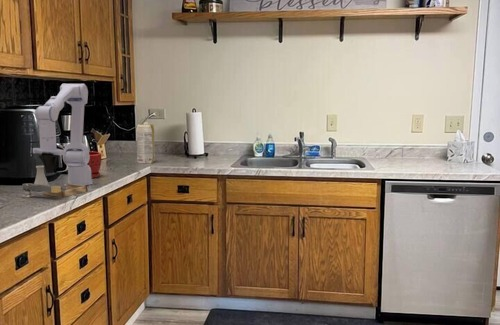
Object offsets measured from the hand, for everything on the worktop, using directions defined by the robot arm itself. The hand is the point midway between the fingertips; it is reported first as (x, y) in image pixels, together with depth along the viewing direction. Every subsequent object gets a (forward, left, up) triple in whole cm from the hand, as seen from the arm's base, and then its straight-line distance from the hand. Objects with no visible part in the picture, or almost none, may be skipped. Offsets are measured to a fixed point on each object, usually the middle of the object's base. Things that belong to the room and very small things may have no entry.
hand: (49, 172), depth 179 cm
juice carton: (-93, -25, -10) cm, 97 cm away
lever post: (+4, -8, -9) cm, 13 cm away
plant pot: (-40, -19, -10) cm, 45 cm away
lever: (+3, -2, -7) cm, 7 cm away
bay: (-8, -1, -9) cm, 12 cm away
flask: (-8, -14, -10) cm, 19 cm away
